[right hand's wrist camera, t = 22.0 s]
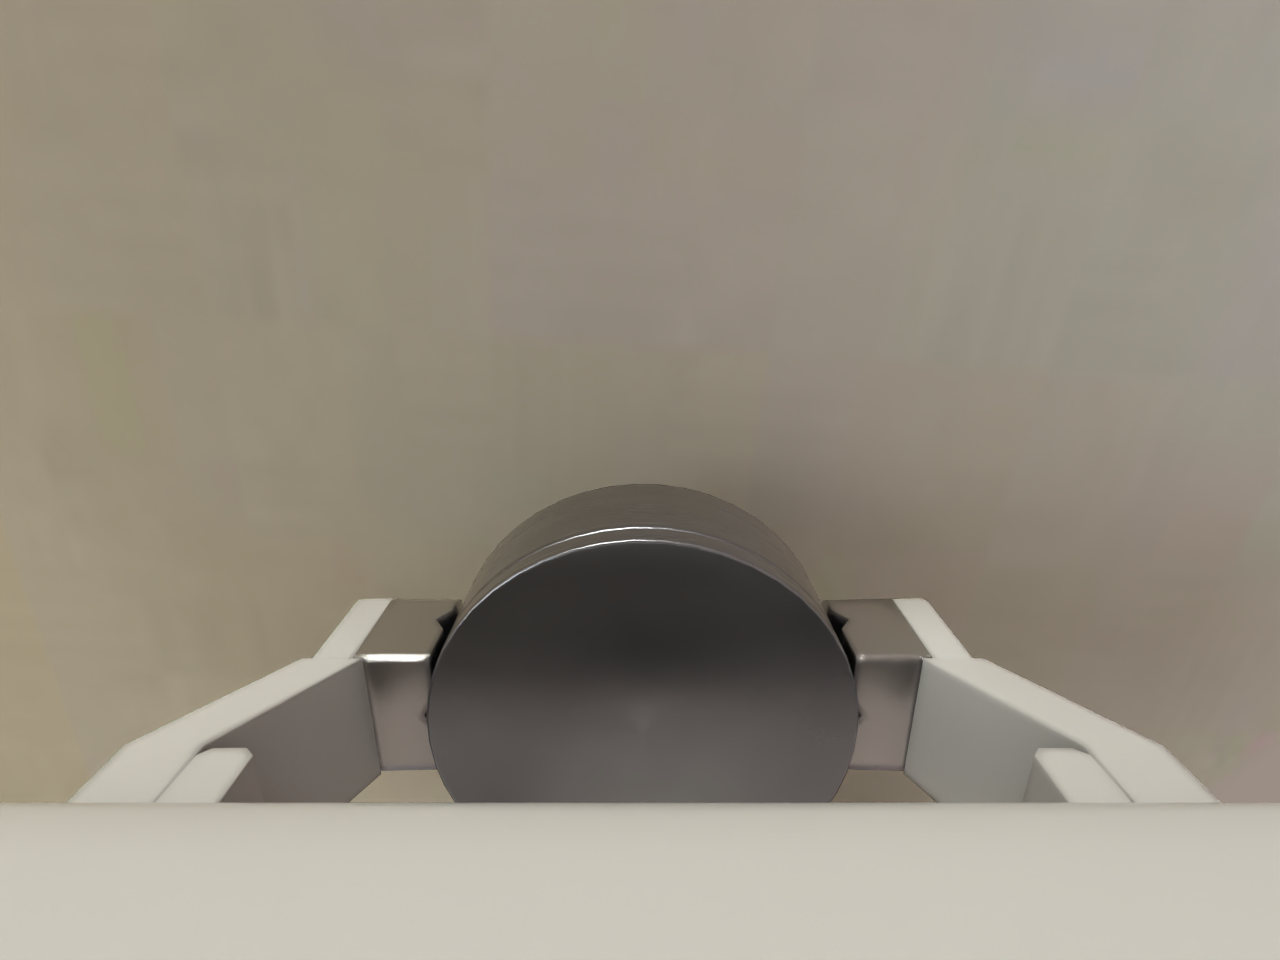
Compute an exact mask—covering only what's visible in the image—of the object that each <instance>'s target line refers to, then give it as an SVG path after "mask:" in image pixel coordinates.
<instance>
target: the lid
mask: <svg viewBox="0 0 1280 960" xmlns="http://www.w3.org/2000/svg"><path fill="white" fill-rule="evenodd" d="M427 727H428V736H429V743H430V747H431V751H432V754H433V758H434V762H435V765H436V767H437V770H438V772H439V774H440V777H441V779H442V781H443V783H444V786H445V787H446V789H447V790H448V792H449V794H450V795H451V797H452V798H453V800H454V802H455V803H830V802H831V800H832V799H833V797H834V796H835V794H836V793H837V791H838V789H839V787H840V785H841V783H842V781H843V779H844V777H845V775H846V773H847V771H848V768H849V765H850V762H851V759H852V756H853V753H854V749H855V743H856V737H857V731H858V697H857V691H856V685H855V679H854V676H853V673H852V670H851V667H850V664H849V661H848V658H847V655H846V653H845V651H844V649H843V647H842V645H841V643H840V641H839V639H838V637H837V635H836V633H835V631H834V629H833V627H832V625H831V623H830V621H829V618H828V616H827V614H826V612H825V610H824V608H823V606H822V604H821V602H820V600H819V598H818V596H817V594H816V592H815V590H814V588H813V586H812V584H811V582H810V580H809V578H808V576H807V574H806V572H805V570H804V568H803V566H802V565H801V564H800V562H799V561H798V559H797V558H796V557H795V555H794V554H793V553H792V551H791V550H790V548H789V547H788V546H787V545H786V544H785V543H784V542H783V541H782V540H781V539H780V538H779V537H778V536H777V535H776V534H775V533H774V532H773V531H772V530H771V529H769V528H768V527H767V526H765V525H764V524H763V523H762V522H760V521H759V520H758V519H756V518H755V517H754V516H752V515H750V514H748V513H747V512H745V511H743V510H742V509H740V508H738V507H736V506H735V505H733V504H730V503H728V502H726V501H723V500H721V499H718V498H716V497H714V496H711V495H708V494H705V493H701V492H697V491H694V490H690V489H686V488H680V487H673V486H667V485H658V484H629V485H619V486H609V487H604V488H600V489H596V490H591V491H587V492H583V493H580V494H577V495H575V496H572V497H569V498H566V499H564V500H561V501H559V502H557V503H555V504H553V505H551V506H549V507H547V508H545V509H543V510H541V511H539V512H537V513H536V514H535V515H533V516H532V517H530V518H529V519H527V520H526V521H525V522H523V523H522V524H520V525H519V526H518V527H517V528H515V529H514V530H513V531H512V532H511V533H510V534H509V535H508V536H507V537H506V538H505V539H504V540H503V541H501V542H500V544H499V545H498V546H497V547H496V549H495V550H494V551H493V552H492V554H491V555H490V556H489V557H488V559H487V560H486V562H485V563H484V565H483V567H482V568H481V570H480V572H479V573H478V575H477V577H476V579H475V581H474V583H473V585H472V587H471V589H470V591H469V593H468V595H467V597H466V599H465V602H464V604H463V606H462V608H461V610H460V612H459V614H458V616H457V618H456V620H455V623H454V625H453V627H452V629H451V631H450V633H449V635H448V637H447V639H446V641H445V644H444V646H443V648H442V650H441V653H440V655H439V658H438V660H437V663H436V665H435V668H434V670H433V674H432V678H431V683H430V687H429V692H428V701H427Z"/></svg>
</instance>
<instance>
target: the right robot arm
mask: <svg viewBox="0 0 1280 960" xmlns="http://www.w3.org/2000/svg"><path fill="white" fill-rule="evenodd" d="M821 604H822V606H823V608H824V610H825V612H826V614H827V616H828V618H829V621H830V623H831V625H832V627H833V629H834V631H835V633H836V635H837V637H838V639H839V641H840V643H841V645H842V647H843V649H844V651H845V653H846V655H847V658H848V661H849V664H850V667H851V670H852V673H853V676H854V679H855V685H856V691H857V697H858V731H857V737H856V743H855V749H854V753H853V756H852V759H851V762H850V765H849V768H848V769H858V770H895V771H904V774H905V775H906V776H907V777H908V778H909V779H910V780H912V781H913V782H914V783H915V784H916V785H917V786H918V787H920V788H921V789H922V790H923V791H924V792H925V793H926V794H928V795H929V796H930V797H931V798H932V799H933V800H934V801H936V802H937V803H349V802H350V801H351V800H352V799H353V798H354V797H356V796H357V795H358V794H359V793H360V792H361V791H362V790H364V789H365V788H366V787H367V786H368V785H369V784H370V783H371V782H373V781H374V780H375V779H376V778H377V777H378V776H379V775H381V771H390V770H425V769H437V767H436V765H435V762H434V758H433V754H432V751H431V747H430V743H429V736H428V727H427V701H428V692H429V687H430V683H431V678H432V674H433V670H434V668H435V665H436V663H437V660H438V658H439V655H440V653H441V650H442V648H443V646H444V644H445V641H446V639H447V637H448V635H449V633H450V631H451V629H452V627H453V625H454V623H455V620H456V618H457V616H458V614H459V612H460V610H461V608H462V606H463V603H462V601H461V600H440V599H394V598H373V599H361V600H358V601H357V602H356V603H355V604H354V605H353V607H352V608H351V609H350V611H349V612H348V613H347V614H346V616H345V617H344V618H343V620H342V621H341V622H340V623H339V625H338V626H337V627H336V629H335V630H334V631H333V632H332V634H331V635H330V636H329V638H328V639H327V640H326V641H325V643H324V644H323V645H322V647H321V648H320V649H319V650H318V652H317V653H316V654H315V656H314V657H313V658H301V659H299V660H297V661H295V662H293V663H291V664H289V665H287V666H285V667H283V668H281V669H279V670H277V671H275V672H273V673H271V674H269V675H267V676H265V677H263V678H261V679H258V680H256V681H254V682H252V683H250V684H248V685H246V686H244V687H242V688H240V689H238V690H236V691H234V692H232V693H230V694H228V695H226V696H224V697H222V698H220V699H218V700H215V701H213V702H211V703H209V704H207V705H205V706H203V707H201V708H199V709H197V710H195V711H193V712H191V713H189V714H187V715H185V716H183V717H181V718H179V719H177V720H175V721H172V722H170V723H168V724H166V725H164V726H162V727H160V728H158V729H156V730H154V731H152V732H150V733H148V734H146V735H144V736H142V737H140V738H138V739H136V740H134V741H132V742H129V743H127V744H125V745H124V746H123V747H122V748H121V749H120V750H119V751H118V752H117V753H116V754H115V755H114V756H113V757H112V758H111V759H110V760H109V761H108V762H106V763H105V764H104V765H103V766H102V767H101V768H100V769H99V770H98V771H97V772H96V773H95V774H94V775H93V776H92V777H91V778H90V779H89V780H88V781H87V782H86V783H85V784H84V785H83V786H82V787H81V788H80V789H79V790H78V791H77V792H76V793H75V794H74V795H73V796H72V797H71V798H70V799H69V800H68V801H67V802H66V803H0V960H1280V803H1221V802H1220V801H1219V800H1218V799H1217V798H1216V797H1215V796H1214V795H1213V794H1212V793H1211V792H1210V791H1209V790H1208V789H1207V788H1206V787H1205V786H1204V785H1203V784H1202V783H1201V782H1200V781H1199V780H1198V779H1197V778H1196V777H1195V776H1194V775H1193V774H1192V773H1191V772H1190V771H1189V770H1188V769H1187V768H1186V767H1185V766H1184V765H1183V764H1182V763H1181V762H1180V761H1179V760H1178V759H1177V758H1176V757H1175V756H1174V755H1173V754H1172V753H1171V752H1170V751H1168V750H1167V749H1166V748H1165V747H1164V746H1163V745H1161V744H1159V743H1157V742H1155V741H1152V740H1150V739H1148V738H1146V737H1144V736H1142V735H1140V734H1138V733H1136V732H1134V731H1132V730H1130V729H1128V728H1126V727H1124V726H1122V725H1120V724H1118V723H1115V722H1113V721H1111V720H1109V719H1107V718H1105V717H1103V716H1101V715H1099V714H1097V713H1095V712H1093V711H1091V710H1089V709H1087V708H1085V707H1083V706H1081V705H1078V704H1076V703H1074V702H1072V701H1070V700H1068V699H1066V698H1064V697H1062V696H1060V695H1058V694H1056V693H1054V692H1052V691H1050V690H1048V689H1046V688H1044V687H1041V686H1039V685H1037V684H1035V683H1033V682H1031V681H1029V680H1027V679H1025V678H1023V677H1021V676H1019V675H1017V674H1015V673H1013V672H1011V671H1009V670H1007V669H1004V668H1002V667H1000V666H998V665H996V664H994V663H992V662H990V661H988V660H986V659H984V658H972V657H971V655H970V654H969V653H968V652H967V650H966V649H965V648H964V646H963V645H962V644H961V643H960V641H959V640H958V639H957V638H956V636H955V635H954V634H953V633H952V631H951V630H950V629H949V628H948V626H947V625H946V624H945V623H944V621H943V620H942V619H941V618H940V616H939V615H938V614H937V612H936V611H935V610H934V609H933V607H932V606H931V605H930V604H929V602H928V601H927V600H924V599H922V598H905V599H863V600H826V601H822V602H821Z"/></svg>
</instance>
